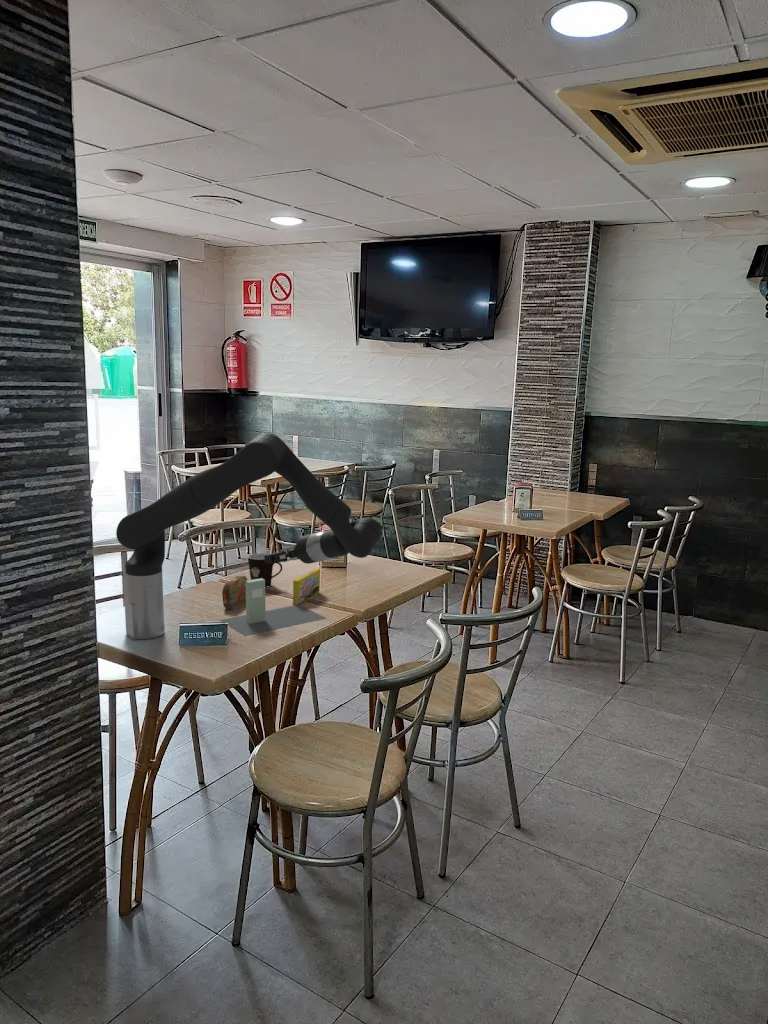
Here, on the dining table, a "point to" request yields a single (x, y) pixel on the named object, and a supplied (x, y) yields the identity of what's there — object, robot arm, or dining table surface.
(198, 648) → the dining table surface
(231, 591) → the tin
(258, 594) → the pale green box
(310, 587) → the candy box
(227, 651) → the dining table surface
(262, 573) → the coffee mug
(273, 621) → the mat
